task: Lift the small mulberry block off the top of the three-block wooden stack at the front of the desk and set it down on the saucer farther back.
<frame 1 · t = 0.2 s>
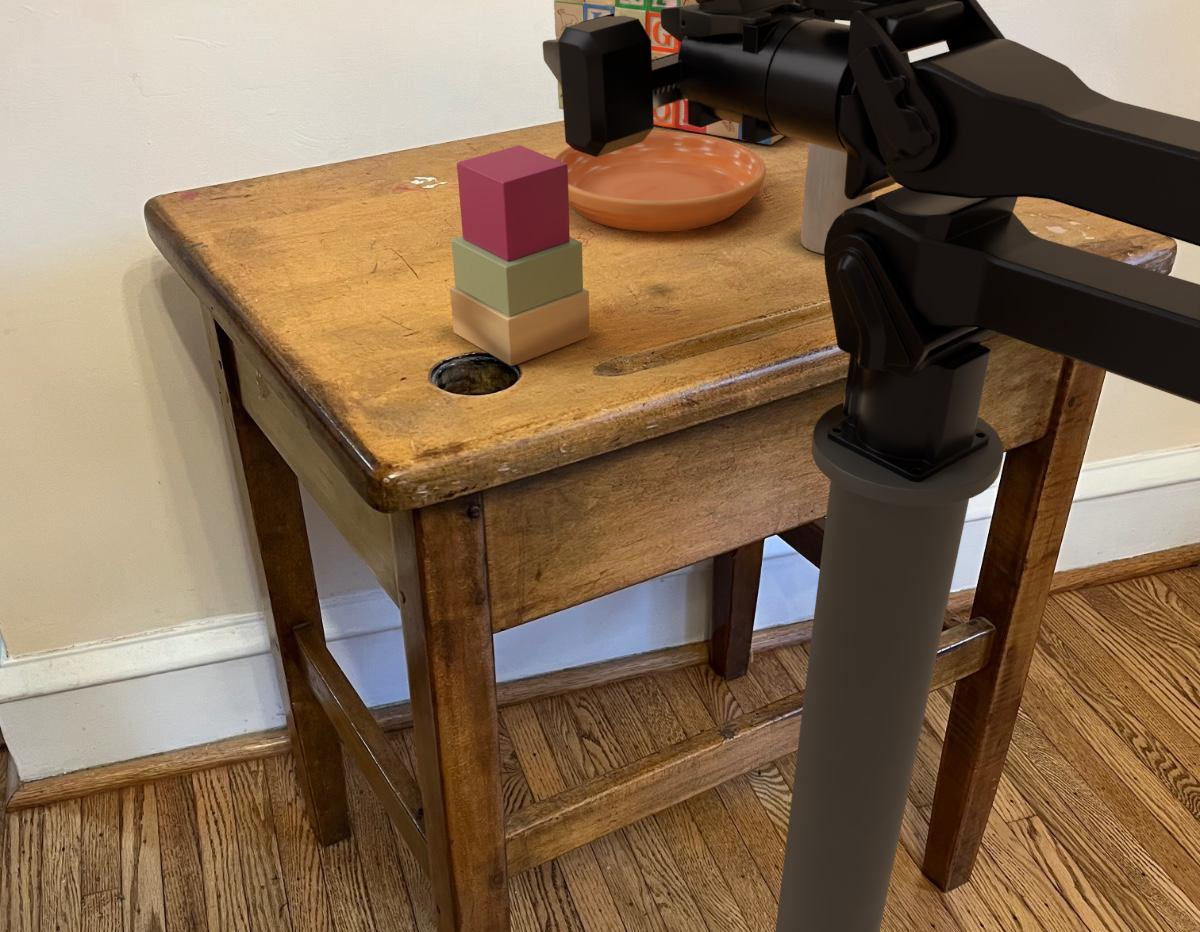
hand: (605, 33, 73), 15 cm above the table, tool horizontal, fingers open, 9 cm apart
mulberry block: (516, 240, 72), point 6 cm above the table, touching sage middle block
stack of blocks: (676, 120, 109), on the table
saucer: (656, 205, 93), on the table
beech base block: (521, 334, 76), on the table, touching sage middle block
sage middle block: (518, 288, 74), point 3 cm above the table, touching beech base block, mulberry block
grey hollow cylinder: (832, 245, 86), on the table
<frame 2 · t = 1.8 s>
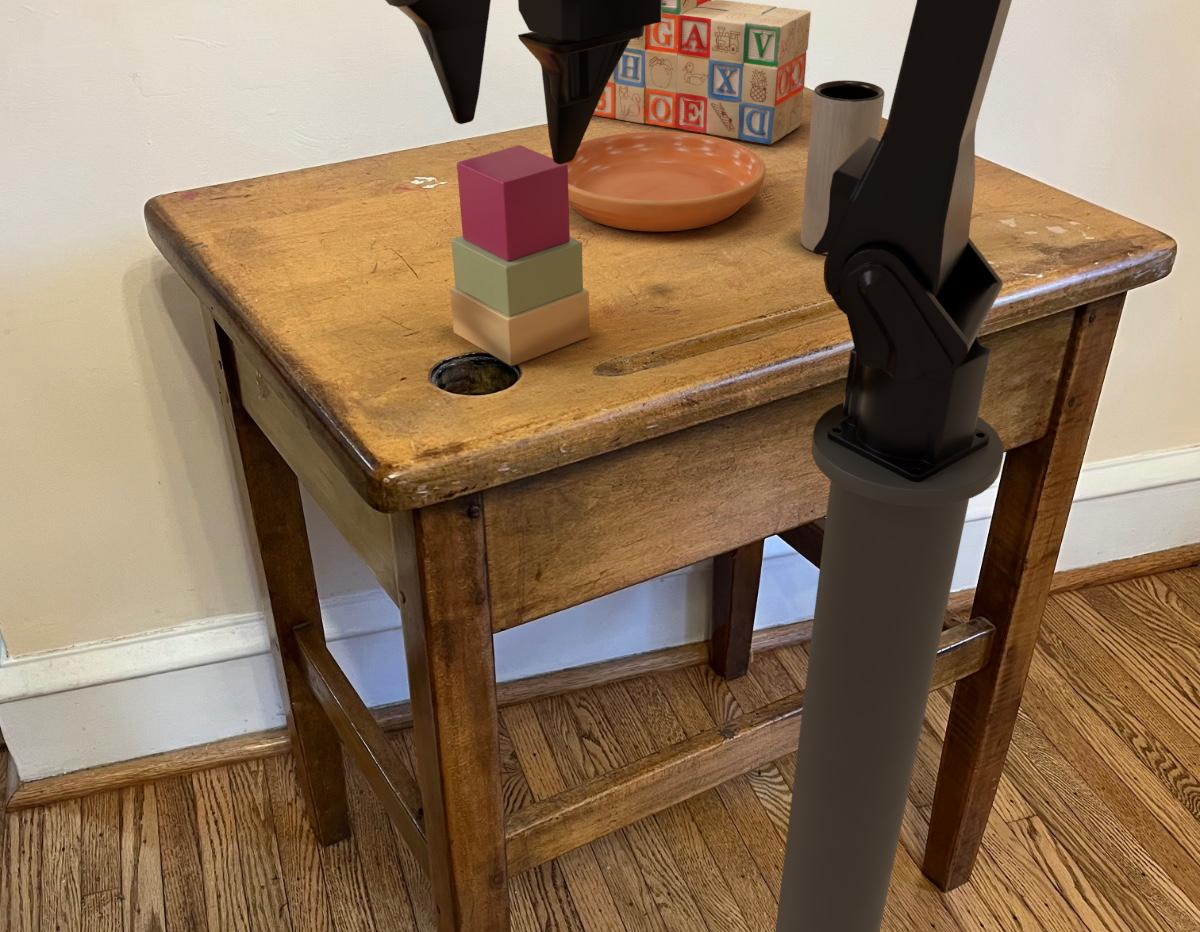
hand: (512, 141, 68), 12 cm above the table, tool pointing down, fingers open, 9 cm apart
nothing on the table moved.
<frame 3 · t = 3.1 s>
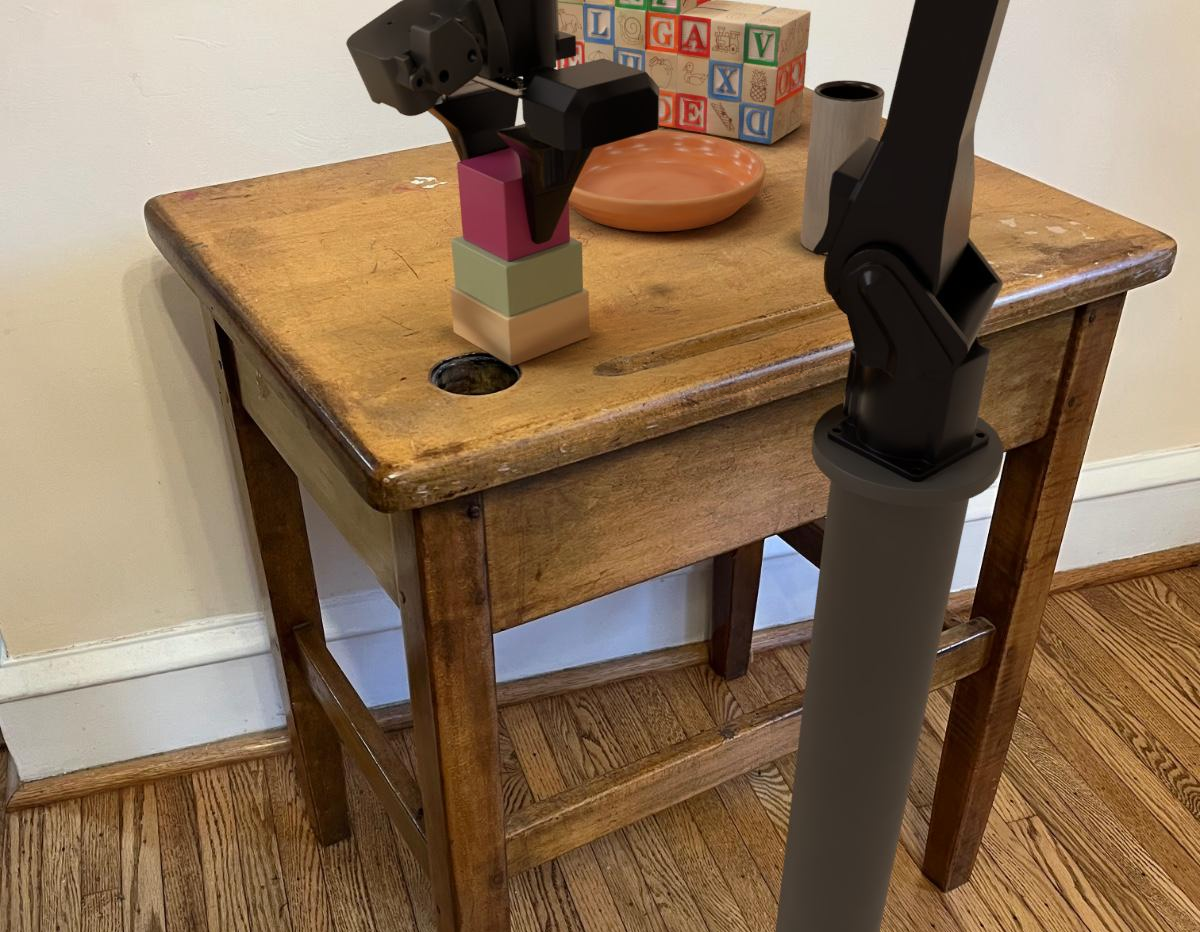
hand: (515, 229, 72), 7 cm above the table, tool pointing down, fingers closed on mulberry block, 4 cm apart
mulberry block: (516, 240, 72), point 6 cm above the table, touching gripper, sage middle block
everything else where it was.
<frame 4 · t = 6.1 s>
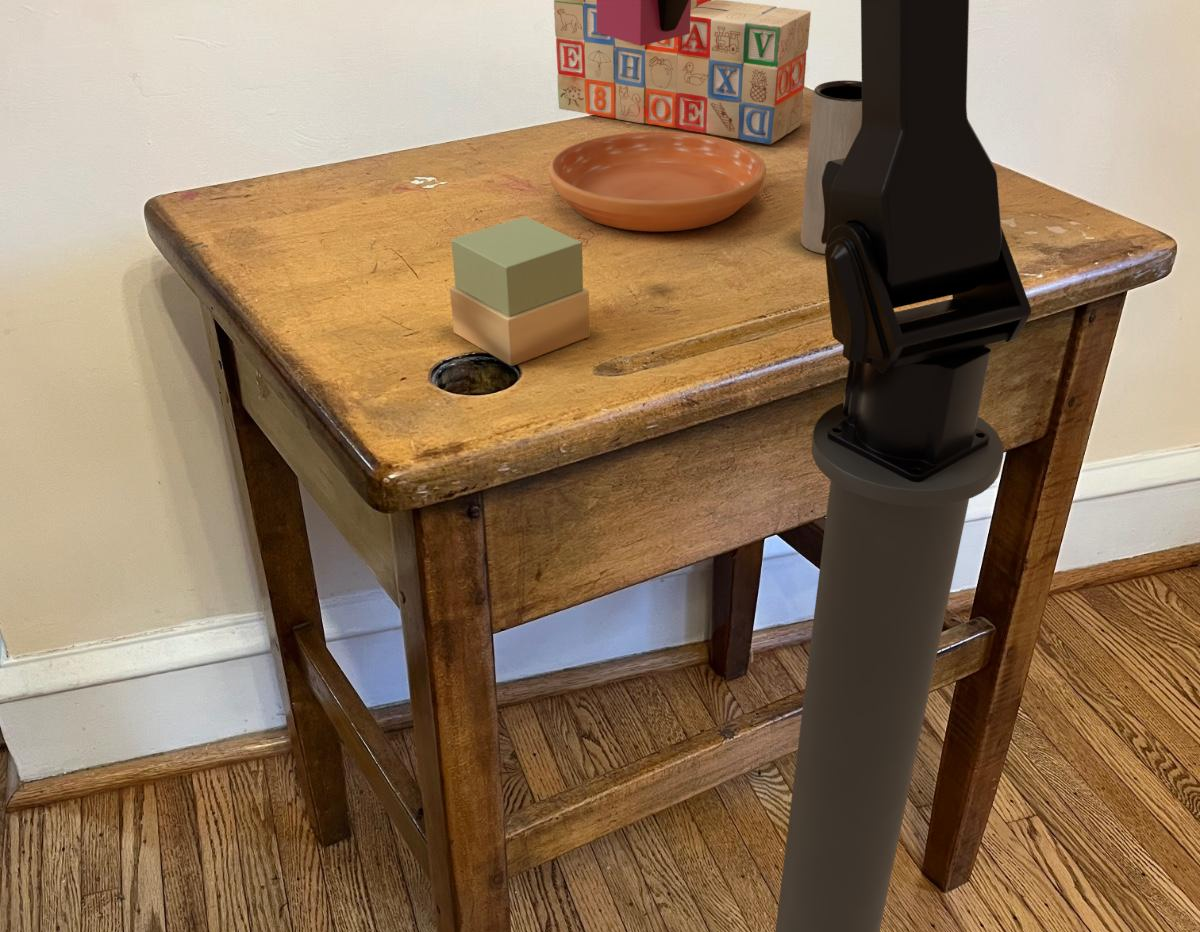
hand: (643, 23, 83), 13 cm above the table, tool pointing down, fingers closed on mulberry block, 4 cm apart
mulberry block: (643, 33, 83), point 13 cm above the table, touching gripper
sage middle block: (518, 288, 74), point 3 cm above the table, touching beech base block
everything else where it was.
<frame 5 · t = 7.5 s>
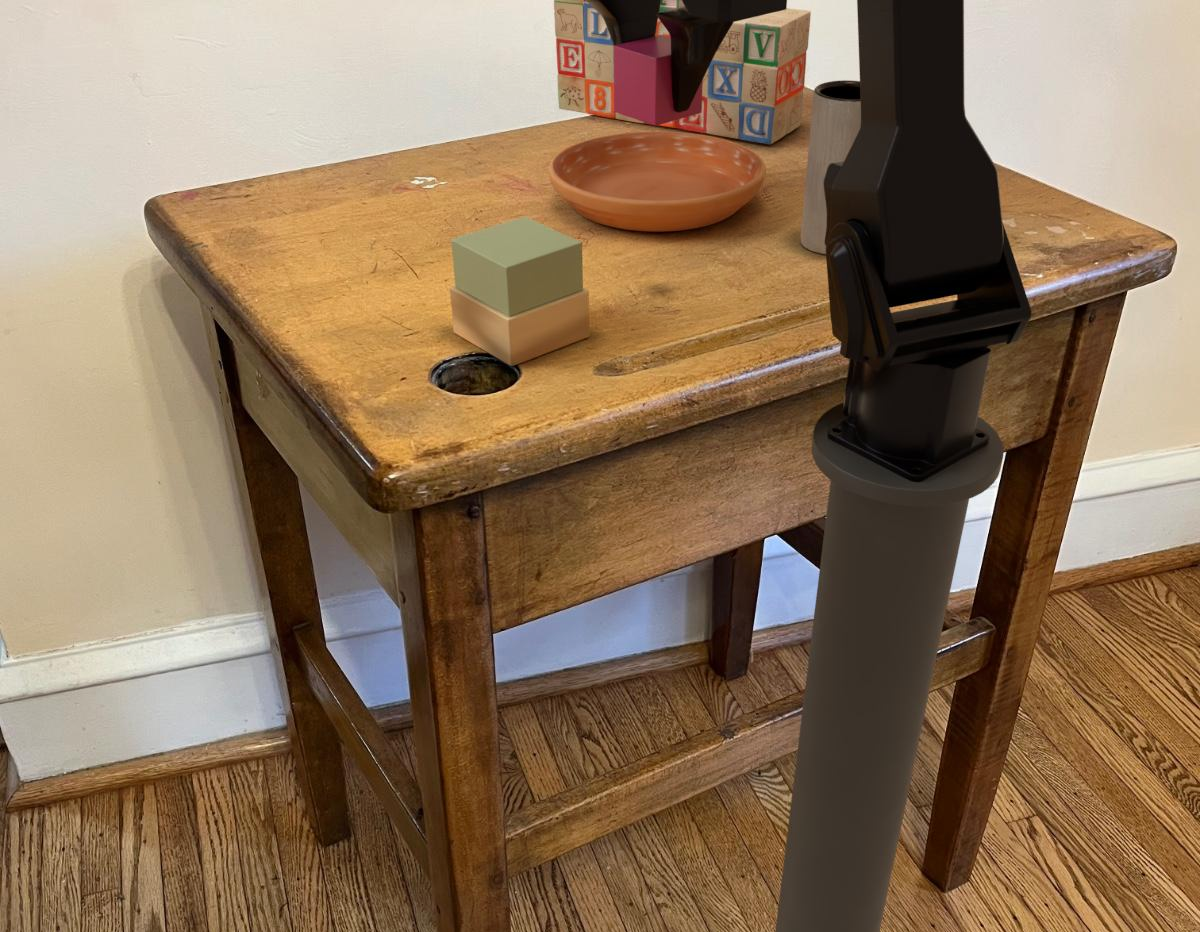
hand: (658, 103, 88), 7 cm above the table, tool pointing down, fingers closed on mulberry block, 4 cm apart
mulberry block: (657, 112, 89), point 7 cm above the table, touching gripper
everything else where it was.
when the fingers open (4 cm above the table, at t = 8.9 s): mulberry block stays where it is, resting on saucer.
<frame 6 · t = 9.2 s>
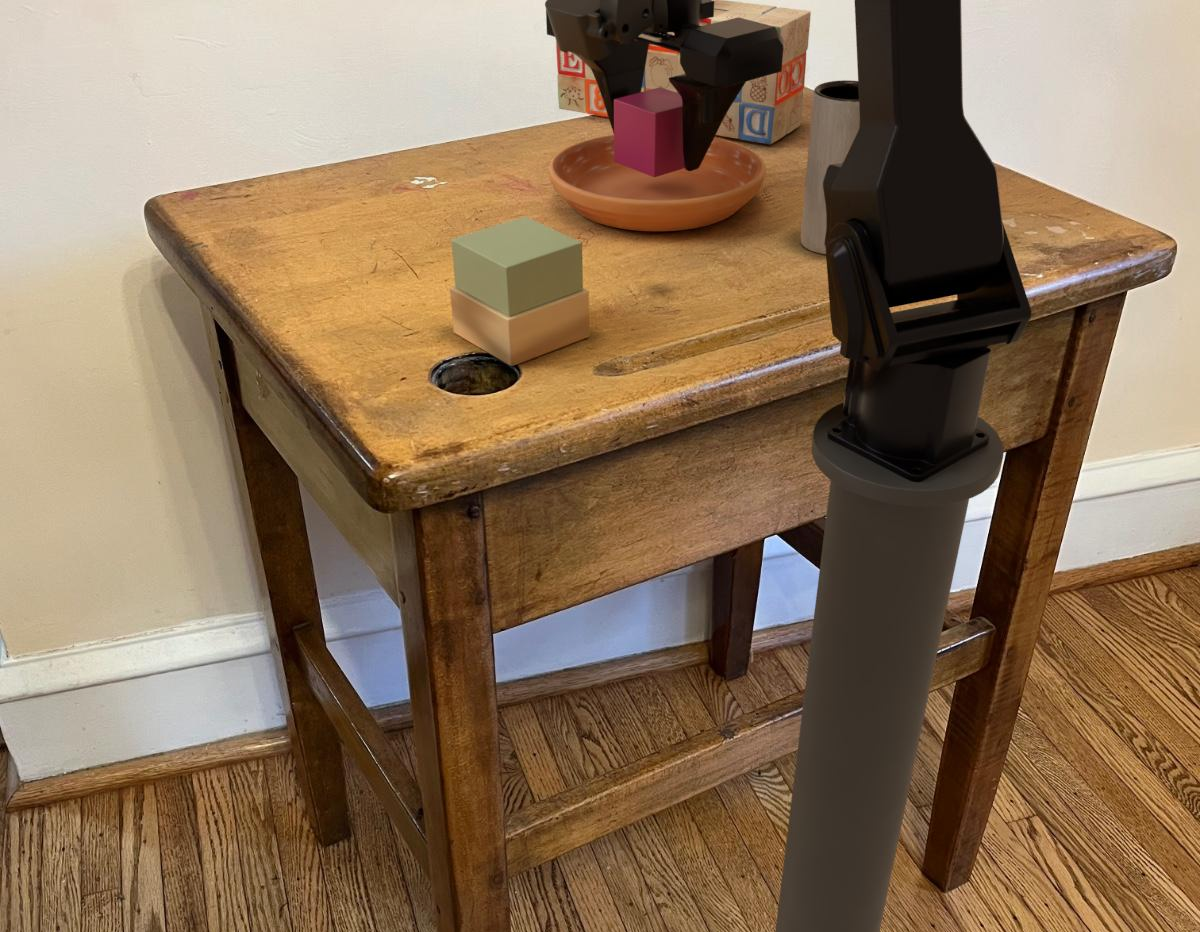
hand: (657, 156, 91), 3 cm above the table, tool pointing down, fingers open, 7 cm apart
mulberry block: (656, 162, 91), point 3 cm above the table, touching saucer
saucer: (656, 205, 93), on the table, touching mulberry block
everything else where it was.
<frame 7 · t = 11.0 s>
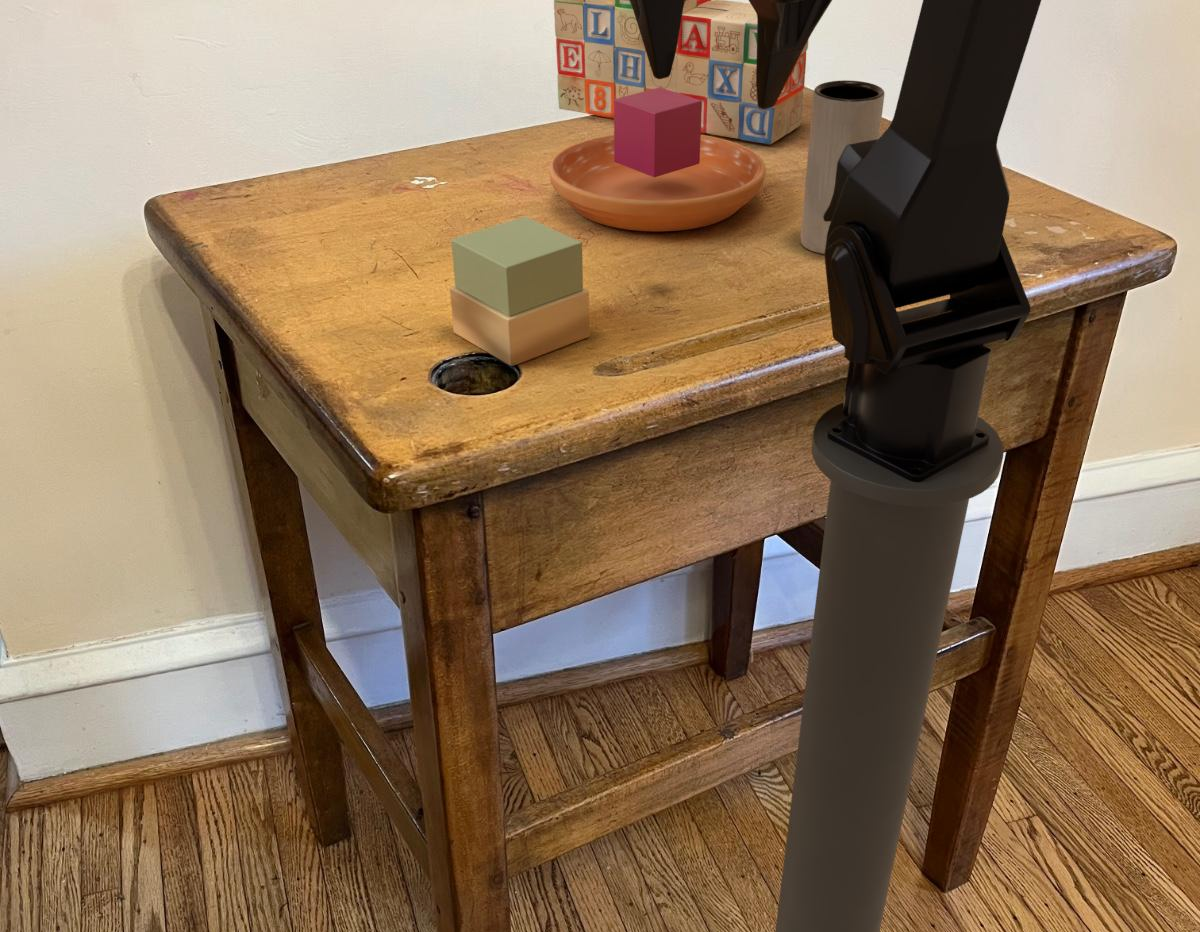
hand: (712, 92, 76), 12 cm above the table, tool pointing down, fingers open, 9 cm apart
nothing on the table moved.
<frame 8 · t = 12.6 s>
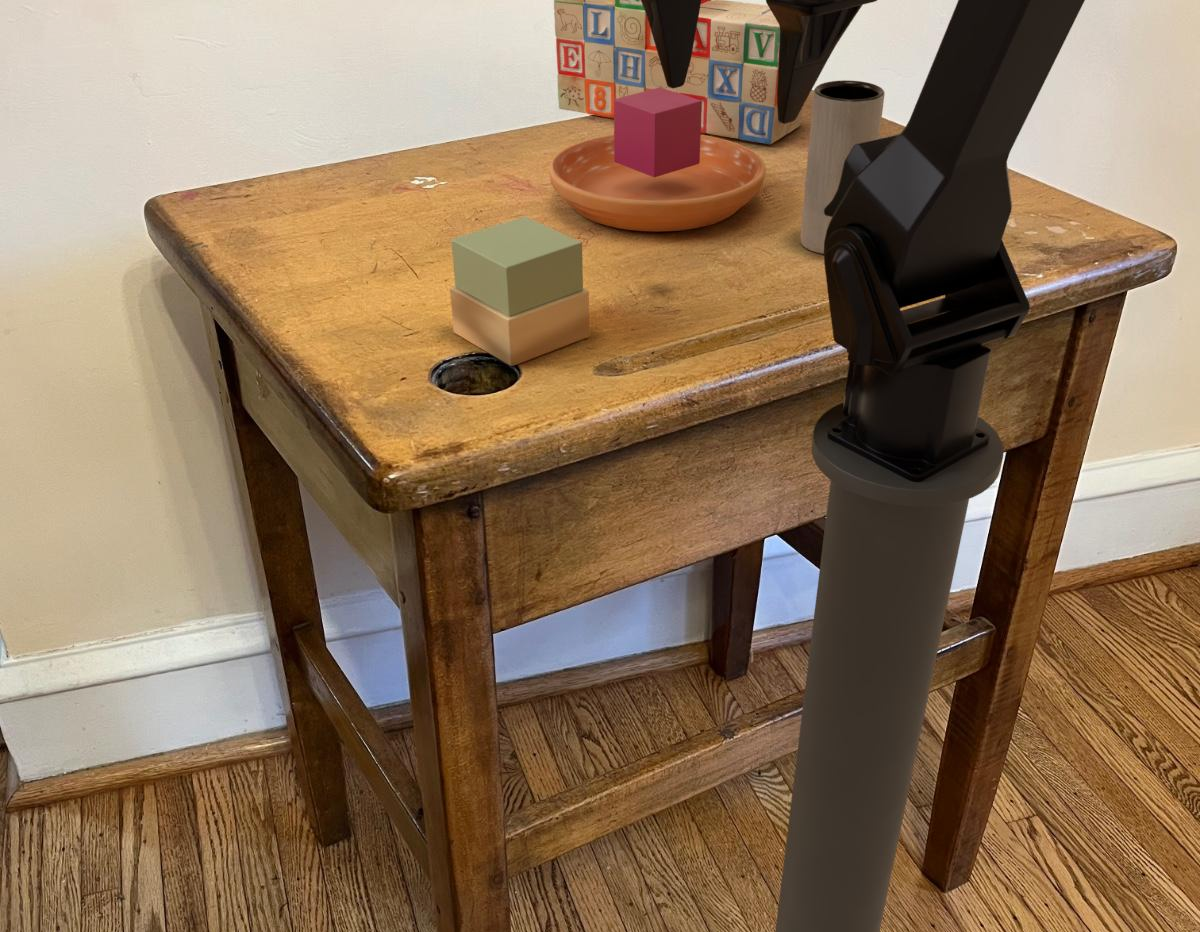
hand: (729, 103, 72), 12 cm above the table, tool pointing down, fingers open, 9 cm apart
nothing on the table moved.
at the end: mulberry block inside the target area on the saucer (0.1 cm from its centre), point 3.2 cm above the saucer's base; sage middle block 0.0 cm from the beech base block (horizontally); mulberry block tilted 0° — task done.
